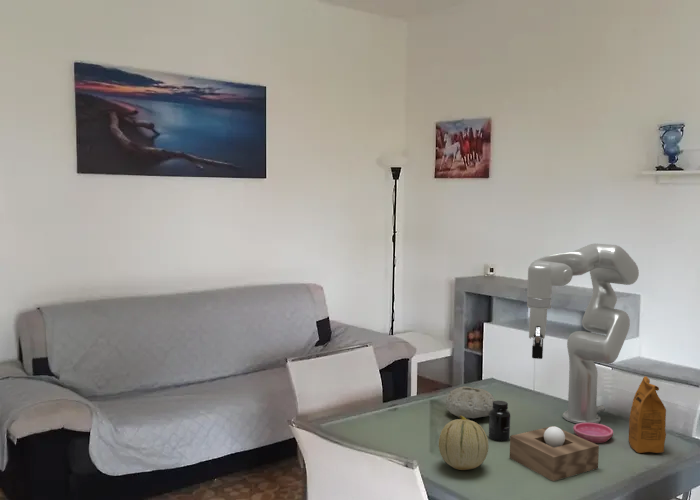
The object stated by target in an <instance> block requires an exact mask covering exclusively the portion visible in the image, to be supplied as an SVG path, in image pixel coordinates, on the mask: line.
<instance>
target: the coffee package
mask: <svg viewBox="0 0 700 500" xmlns="http://www.w3.org/2000/svg"><path fill="white" fill-rule="evenodd" d="M650 382H651V381H650V378H649V377H648V376H643V377H642V380H641V382H640V384H639V386H638V388H637V390H636V392H635V394H634V397H633V400H632V404H631V408H630V413H629V418H628V419H629V420H628V421H629V422H628V425H629V426H628V427H629V428H628V442H629V445H630V447H631V449H632V450H634V451H635V452H636V453H639V454H642V453H643V454H644V453H654V454H659V453H664V452H665V442H666V436H667V432H666V427H667V426H666V425H667V424H666V423H667V422H666V417H667V409H666V407H665V405H664V403H663V401H662V399H661V398H660V397H659V395H658V392H659V391H660V388H659V386H658V385H655V384H652V383H650ZM657 391H658V392H657Z"/></svg>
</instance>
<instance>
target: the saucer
mask: <svg viewBox="0 0 700 500" xmlns="http://www.w3.org/2000/svg"><path fill="white" fill-rule="evenodd" d="M572 430H573V432H574V435H576V436H578V437H580V438H583V439H585V440H587V441H590V442H592V443H594V444H596V443H597V444H600V443H606V442H607V441H608V440H610V439H611V438H612V437H613V436H614V429H612V428H611V427H609V426H608V425H605V424H602V423H578V424H577V423H575V424H574V425H573V429H572Z"/></svg>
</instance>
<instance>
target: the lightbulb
mask: <svg viewBox="0 0 700 500" xmlns="http://www.w3.org/2000/svg"><path fill="white" fill-rule="evenodd" d="M548 427H549V428H548V429H546V431H545V433H544V440H545V442H546V444H547V445H549V446H551V447H553V448H555V447H559V446H562V445H563V443H564V441H565V435H564V432H563V431H562V430H563V429H562V428H560V427H558V426H555V427H551V426H548ZM561 429H562V430H561Z"/></svg>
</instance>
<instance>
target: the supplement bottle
mask: <svg viewBox="0 0 700 500" xmlns="http://www.w3.org/2000/svg"><path fill="white" fill-rule="evenodd" d="M508 406H509V405H508V402H507V401H504V400H495V401H493V406H492V408H493V409H492V410H491V411H490V412H489V416H488V417H489V418H488V437H489V439H490V440H493V441H494V442H495V441H496V442H506V441H508V440H510V436H511V412H510V411H509V410H508V409H509V407H508Z"/></svg>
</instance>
